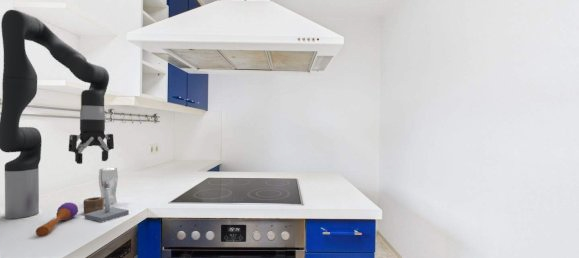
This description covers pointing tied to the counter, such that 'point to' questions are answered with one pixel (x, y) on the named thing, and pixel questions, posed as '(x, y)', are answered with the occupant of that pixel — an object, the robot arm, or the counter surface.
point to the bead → (93, 204)
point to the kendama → (58, 218)
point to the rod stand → (106, 211)
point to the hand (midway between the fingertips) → (92, 162)
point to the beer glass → (108, 183)
